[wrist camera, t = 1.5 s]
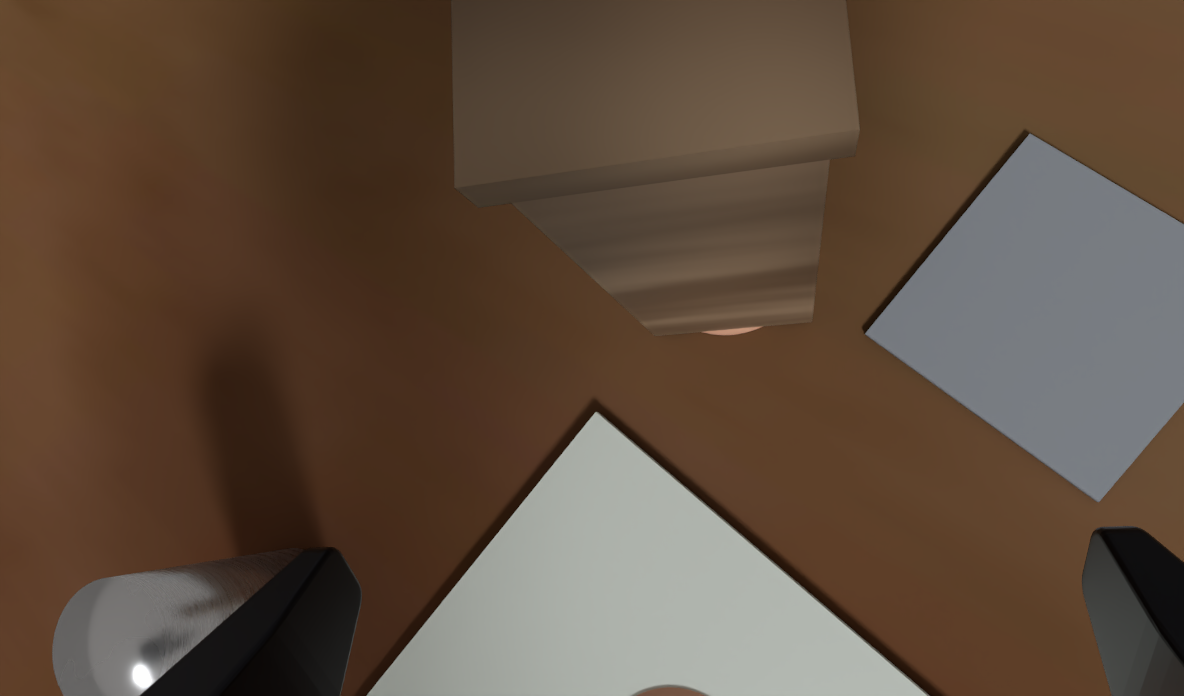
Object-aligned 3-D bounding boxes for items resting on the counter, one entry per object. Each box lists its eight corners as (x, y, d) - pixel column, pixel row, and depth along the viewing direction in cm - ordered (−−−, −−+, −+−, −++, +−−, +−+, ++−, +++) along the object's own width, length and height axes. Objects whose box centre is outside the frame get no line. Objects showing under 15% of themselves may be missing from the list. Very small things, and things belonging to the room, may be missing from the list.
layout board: (711, 1125, 20) (709, 1141, 19) (303, 659, 25) (294, 663, 24) (1383, 346, 19) (1398, 343, 18) (821, 13, 23) (822, 4, 23)
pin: (292, 673, 25) (104, 751, 18) (231, 602, 26) (30, 650, 19) (354, 596, 24) (188, 645, 18) (290, 527, 25) (109, 549, 19)
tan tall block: (822, 329, 22) (859, 128, 9) (646, 344, 23) (454, 188, 10) (806, 161, 23) (819, -249, 10) (637, 184, 24) (448, -153, 11)
